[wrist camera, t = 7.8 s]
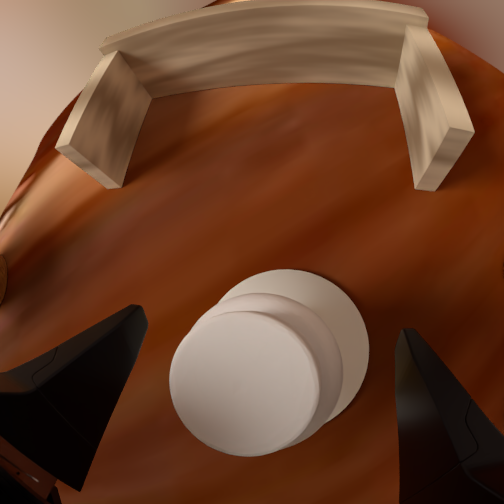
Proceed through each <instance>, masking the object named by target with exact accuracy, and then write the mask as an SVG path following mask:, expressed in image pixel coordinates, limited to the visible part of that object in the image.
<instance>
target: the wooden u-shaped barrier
mask: <svg viewBox="0 0 504 504" xmlns="http://www.w3.org/2000/svg"><path fill="white" fill-rule="evenodd" d="M428 20H429V18H428V16H427V15H426V13H425V12H424V10H423V9H422V8H418V7H413V6H408V5H403V4H397V3H391V2H384V1H375V0H250V1H242V2H235V3H228V4H222V5H217V6H211V7H206V8H201V9H197V10H192V11H188V12H184V13H180V14H176V15H172V16H169V17H165V18H162V19H158V20H155V21H152V22H148V23H145V24H143V25H139V26H137V27H134V28H131V29H128V30H125V31H123V32H120V33H117V34H115V35H112V36H110V37H107V38H106V39H105V40H104V41H103V43H102V44H101V46H100V47H99V50H100V51H101V52H102V53H103V55H104V57H103V58H102V60H101V61H100V63H99V64H98V66H97V68H96V69H95V71H94V72H93V74H92V76H91V77H90V79H89V81H88V83H87V84H86V86H85V88H84V90H83V91H82V93H81V95H80V97H79V99H78V101H77V102H76V104H75V106H74V108H73V110H72V112H71V114H70V116H69V118H68V120H67V122H66V124H65V127H64V129H63V131H62V133H61V135H60V138H59V140H58V142H57V144H56V147H55V149H57V150H58V151H59V152H60V153H62V154H63V155H64V156H66V157H67V158H68V159H69V160H71V161H72V162H73V163H74V164H76V165H77V166H78V167H80V168H81V169H82V170H84V171H85V172H86V173H87V174H89V175H90V176H91V177H93V178H94V179H95V180H97V181H98V182H99V183H101V184H102V185H103V186H105V187H106V188H107V189H111V188H122V184H123V181H124V178H125V174H126V171H127V168H128V164H129V161H130V158H131V155H132V152H133V149H134V146H135V143H136V140H137V137H138V134H139V132H140V129H141V126H142V123H143V121H144V118H145V115H146V113H147V110H148V108H149V105H150V102H151V100H152V99H153V98H158V97H163V96H168V95H174V94H179V93H185V92H192V91H198V90H206V89H213V88H222V87H231V86H242V85H255V84H272V83H341V84H358V85H371V86H381V87H390V88H395V92H396V95H397V99H398V103H399V107H400V111H401V115H402V120H403V124H404V129H405V134H406V138H407V144H408V149H409V154H410V160H411V166H412V173H413V180H414V187H415V189H417V190H427V191H436V189H437V188H438V186H439V185H440V184H441V182H442V181H443V179H444V178H445V177H446V175H447V174H448V172H449V171H450V169H451V168H452V167H453V165H454V164H455V162H456V161H457V159H458V158H459V156H460V155H461V153H462V152H463V150H464V149H465V147H466V146H467V144H468V142H469V141H470V139H471V138H472V136H473V134H474V133H475V131H474V128H473V125H472V122H471V120H470V117H469V114H468V112H467V109H466V107H465V104H464V102H463V99H462V97H461V94H460V92H459V90H458V87H457V85H456V83H455V81H454V79H453V76H452V74H451V72H450V70H449V68H448V66H447V64H446V62H445V60H444V58H443V56H442V54H441V52H440V51H439V49H438V47H437V45H436V43H435V41H434V40H433V38H432V36H431V35H430V33H429V31H428V29H427V25H428Z"/></svg>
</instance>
